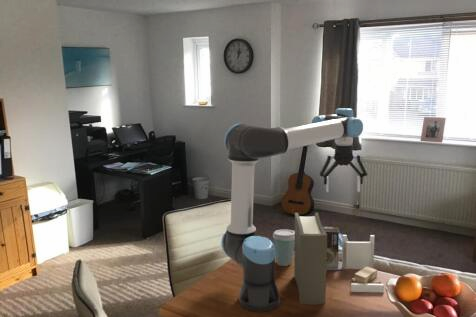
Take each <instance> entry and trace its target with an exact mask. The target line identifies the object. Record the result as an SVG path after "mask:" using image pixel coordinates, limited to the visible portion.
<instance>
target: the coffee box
mask: <svg viewBox="0 0 476 317" xmlns="http://www.w3.org/2000/svg"><path fill="white" fill-rule="evenodd" d="M322 226H323V228H324V230H325V232H326V234H327V256H326V266H329V267H338V265H339V263H340V259H339V257H340V256H339V254H340V253H339V252H340V251H339V250H340V249H339V248H340V247H339V242H340V229H339V227H338V226H324V225H322Z"/></svg>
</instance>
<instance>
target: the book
mask: <svg viewBox="0 0 476 317" xmlns="http://www.w3.org/2000/svg"><path fill="white" fill-rule="evenodd" d="M319 214H320V213H319V212H314V215H313V216H301V215H299V212H294V231H295V247H294V265H293V266H294V267H293V268H294V274H293V275H294V276H295V277H294V279H295V282H296V286H297V290H298V298H299V304H303V305H322V304H323V305H324V304H326V294H327V292H326V290H327V288H326V287H327V270H326V256H327V234H326V232H325V230H324V228H323V226H324V225H323V224H322V221H321V219H320V215H319Z"/></svg>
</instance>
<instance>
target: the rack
mask: <svg viewBox="0 0 476 317" xmlns="http://www.w3.org/2000/svg"><path fill="white" fill-rule="evenodd" d="M374 257H375V234H370V235H369V241H348V235H347V234H342V252H341V269H342V268H352V269H351V270H362V269H363V268H365V267H366V266H367V267H370V268H373V269H374V261H375V260H374V259H375V258H374ZM384 289H385V285H384V283H381V284H371V283H352V282H351V283H350V291H351V292H352V293H384Z"/></svg>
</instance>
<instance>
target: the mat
mask: <svg viewBox="0 0 476 317" xmlns="http://www.w3.org/2000/svg"><path fill="white" fill-rule="evenodd" d="M326 271H342V265H341V263H340V262H339V265H338V267H329V266H326Z"/></svg>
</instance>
